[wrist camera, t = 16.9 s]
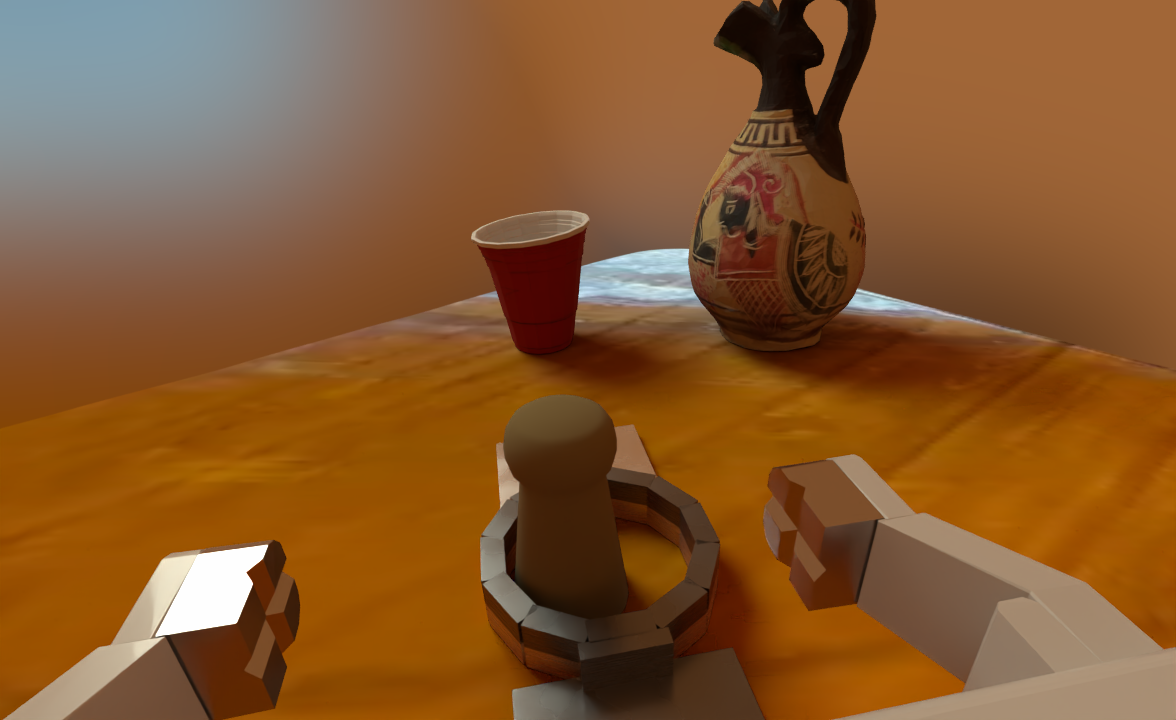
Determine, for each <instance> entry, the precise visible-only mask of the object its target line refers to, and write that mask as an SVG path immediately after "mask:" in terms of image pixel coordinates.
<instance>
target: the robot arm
mask: <svg viewBox="0 0 1176 720" xmlns="http://www.w3.org/2000/svg"><path fill="white" fill-rule="evenodd" d="M767 486H768V488H769V489H770V491H771V492H772V494H773V495H774V496H773V497H772V498H771V499H770V501H769V502H768V503H767V504H766V505H765V508H764V519H763V522H764V528H765V534H766V538H767V541H768V543H769V546H770V549H771V550H772V552H773V554H774V555H775V557H776V559H777V560H779V561H780V562H782V563H784V564H785V565H787V566H789V567H790V568H791V571H790V578H789V580H790V582H791V583H792V585H793V587H794V588H795V590H796V592H797V593H798V595H799V596H800V598H801V600H802V601H803V603H804V604H805V606H806V608H807V609H808V611H813V610H819V609H826V608H832V607H839V606H845V605H852V604H857V607H858V608H860V609H861V610H863V611H864V612H866V613H867V614H868V615H870V616H871V617H873V618H874V619H875V620H877V621H878V622H880V623H881V624H882V625H884V626H885V627H887V628H888V629H890V630H891V631H892V632H894V633H895V634H897V635H898V636H899V637H901V638H902V639H904V640H905V641H906V642H908V643H909V644H911V645H912V646H913V647H915V648H916V649H918V650H919V651H921V652H922V653H923V654H925V655H926V656H928V657H929V658H930V659H932V660H933V661H935V662H936V663H937V664H939V665H940V666H942V667H943V668H945V669H946V670H947V671H949V672H950V673H952V674H953V675H954V676H956V677H957V678H959V679H960V680H961V681H963V682H964V683H966V684H965V686H964V689H963V691H962V693H957V694H952V695H947V696H943V697H938V698H933V699H928V700H924V701H919V702H914V703H909V704H905V705H900V706H895V707H891V708H886V709H881V710H876V711H872V712H867V713H862V714H857V715H853V716H848V717H843V718H839V719H834V720H1176V647H1174V648H1170V649H1165V650H1163V649H1162V648H1161V647H1160V646H1159V645H1158V644H1157V643H1155V642H1154V641H1153V640H1152V639H1151V638H1150V637H1148V636H1147V635H1146V634H1145V633H1144V632H1143V631H1141V630H1140V629H1139V628H1138V627H1137V626H1136V625H1135V624H1133V623H1132V622H1131V621H1130V620H1129V619H1128V618H1126V617H1125V616H1124V615H1123V614H1122V613H1121V612H1119V611H1118V610H1117V609H1116V608H1115V607H1114V606H1113V605H1111V604H1110V603H1109V602H1108V601H1107V600H1106V599H1104V598H1103V597H1102V596H1101V595H1100V594H1099V593H1097V592H1096V591H1095V590H1094V589H1093V588H1092V587H1091V586H1089V585H1088V584H1087V583H1085V582H1083V581H1081V580H1078V579H1076V578H1074V577H1071V576H1069V575H1067V574H1064V573H1062V572H1060V571H1057V570H1055V569H1053V568H1051V567H1048V566H1046V565H1044V564H1041V563H1039V562H1037V561H1034V560H1032V559H1030V558H1027V557H1025V556H1023V555H1021V554H1018V553H1016V552H1014V551H1011V550H1009V549H1007V548H1004V547H1002V546H1000V545H997V544H995V543H993V542H991V541H988V540H986V539H984V538H981V537H979V536H977V535H974V534H972V533H970V532H967V531H965V530H963V529H961V528H958V527H956V526H954V525H951V524H949V523H947V522H944V521H942V520H940V519H937V518H935V517H933V516H931V515H928V514H926V513H921V514H916V513H915V512H914V511H913V510H912V509H911V508H910V507H909V506H908V505H907V504H906V503H905V502H904V501H903V500H902V499H901V498H900V497H899V496H898V495H897V494H896V493H895V492H894V491H893V490H892V489H891V488H890V487H889V486H888V485H887V484H886V483H885V482H884V481H883V480H882V479H881V478H880V477H879V476H878V474H877V473H876V472H875V471H874V470H873V469H872V468H871V467H870V466H869V465H868V464H867V463H866V462H865V461H864V460H863V459H862V458H861V457H859V456H856V455H854V454H853V455H847V456H841V457H835V458H829V459H826V460H820V461H813V462H807V463H800V464H794V465H787V466H780V467H774V468H772V470H771V472H770V474H769V479H768V485H767ZM285 561H286V556H285V553H284V551H283V549H282V546H281V544H280V542H277V541H275V540H270V541H262V542H254V543H246V544H238V545H230V546H221V547H213V548H206V549H204V550H194V551H186V552H178V553H171V554H170V555H168V556H167V557H165V558H164V559H162V560H161V562H160V563H159V565H158V567H157V568H156V570H155V572H154V573H153V575H152V577H151V578H150V580H149V582H148V583H147V585H146V587H145V588H144V590H143V592H142V593H141V595H140V597H139V598H138V600H137V602H136V604H135V605H134V607H133V609H132V610H131V612H130V614H129V615H128V617H127V619H126V620H125V622H124V624H123V625H122V627H121V629H120V630H119V632H118V634H117V635H116V637H115V639H114V640H113V642H112V644H111V645H109V646H104V647H98V648H97V649H96V650H94V651H93V652H92V653H91V654H89V655H88V656H87V657H85V658H84V659H83V660H81V661H80V662H79V663H77V664H76V665H75V666H73V667H72V668H71V669H69V670H68V671H67V672H66V673H64V674H63V675H62V676H60V677H59V678H58V679H56V680H55V681H54V682H52V683H51V684H50V685H48V686H47V687H46V688H44V689H43V690H42V691H41V692H39V693H38V694H37V695H35V696H34V697H33V698H31V699H30V700H29V701H27V702H26V703H25V704H23V705H22V706H21V707H19V708H18V709H17V710H16V711H14V712H13V713H12V714H10V715H9V716H8V717H6V718H5V719H4V720H223V719H228V718H233V717H238V716H242V715H247V714H252V713H257V712H261V711H266V710H271V709H275V706H276V703H277V699H278V696H279V692H280V689H281V686H282V682H283V679H284V675H285V672H286V669H287V666H286V663H285V661H284V658H283V656H282V653H283V652H284V651H285V650H286V649H287V648H288V647H289V646H290V645H291V644H292V643H293V642H294V641H295V637H296V633H297V629H298V626H299V614H300V601H299V594H298V589H297V586H296V583H295V580H294V579H293V578H292V577H290V576H288V575H287V574H285V573H284V572H282V570H283V567H284V564H285Z"/></svg>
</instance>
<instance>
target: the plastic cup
mask: <svg viewBox="0 0 1176 720" xmlns="http://www.w3.org/2000/svg"><path fill="white" fill-rule="evenodd" d="M588 225H589V217H588V216H587V214H584V213H580V212H576V211H545V212H535V213H529V214H523V215H518V216H513V217H509V218H506V219H501V220H498V221H495V222H492V223H490V224H487V225H484V226H482V227H480V228H479V229H477V230H476V231H475V232H473V233H472V237H471V239H472V241H473V243H475V244H477V246H478V247H479V249H480V250H481V253H482V255H483V257H484V258H485V260H486V263H487V266H488V267H489V269H490V272H491V275H492V278H493V281H494V285H495V288H496V291H497V294H498V297H499V300H500V303H501V306H502V310H503V313H504V316H505V317H506V319H507V322H508V326H509V329H510V333H511V336H512V339H513V341H514V343H515V346H516V347H517V348H518V349H519V350H520V351H523V352H526V353H532V354H545V353H553V352H556V351H559V350H562V349H564V348H566V347H567V346H569V345H570V343H571V342H572V337H573V335H574V327H575V316H576V310H577V306H578V295H579V284H580V273H581V261H582V255H583V244H584V242H585V233H586V229H587V226H588Z"/></svg>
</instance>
